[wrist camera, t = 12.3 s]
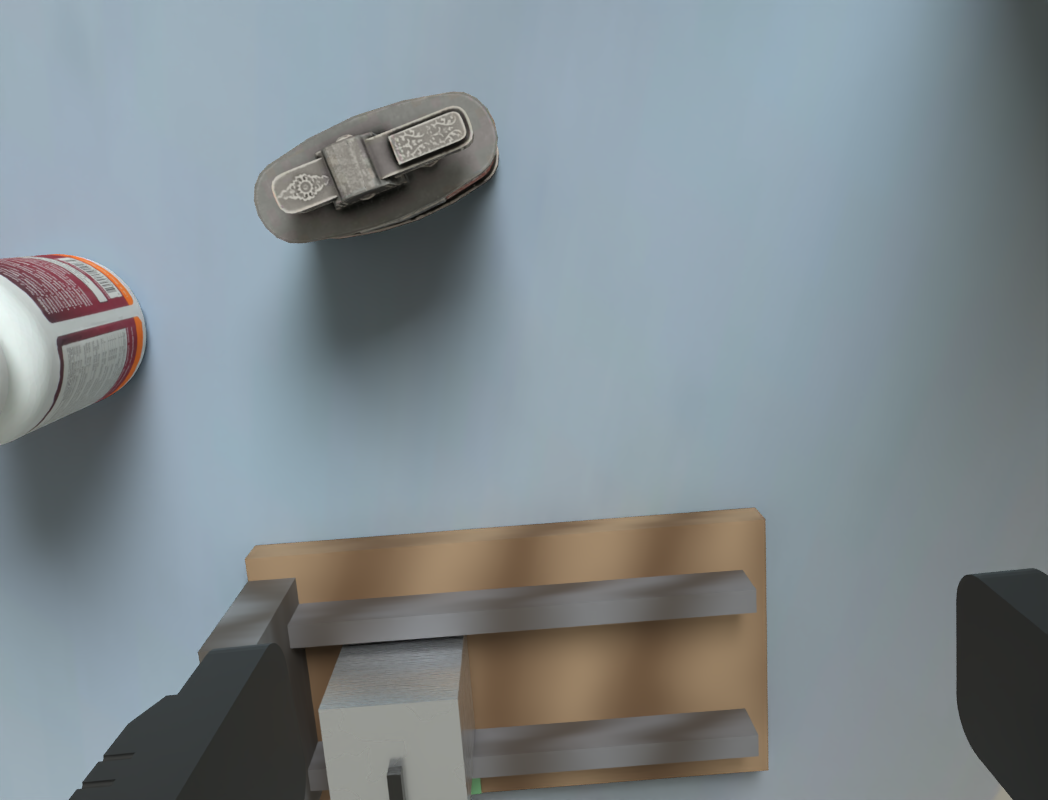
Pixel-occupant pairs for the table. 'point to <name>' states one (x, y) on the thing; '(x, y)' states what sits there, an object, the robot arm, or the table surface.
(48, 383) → the pill bottle
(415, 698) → the gauge slider
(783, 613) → the table surface
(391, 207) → the lighter
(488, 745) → the gauge track
